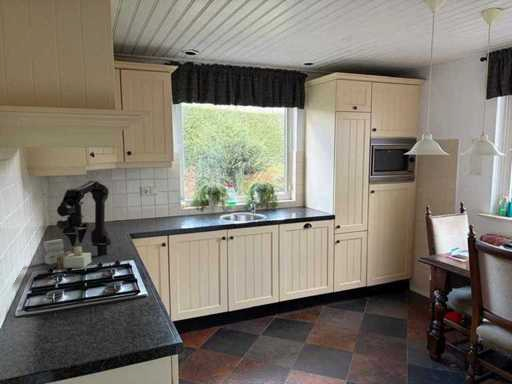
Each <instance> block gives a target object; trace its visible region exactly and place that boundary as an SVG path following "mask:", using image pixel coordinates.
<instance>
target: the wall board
mask: <svg viewBox="0 0 512 384" xmlns="http://www.w3.org/2000/svg"><path fill="white" fill-rule="evenodd" d="M71 253H73V252H72V251H71V250H70V251H69V250H68V251H66V252H64V254H62V255H60V256H58V257H57V263H56V265H57V270H62V269H64V268H63V258H64V257H65V256H67V255H69V254H71Z"/></svg>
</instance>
